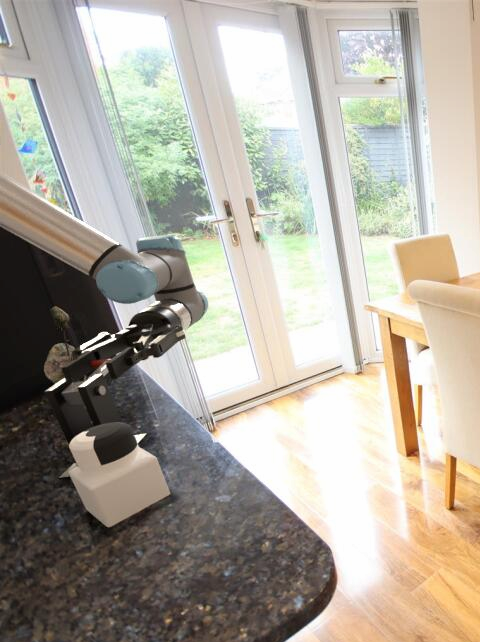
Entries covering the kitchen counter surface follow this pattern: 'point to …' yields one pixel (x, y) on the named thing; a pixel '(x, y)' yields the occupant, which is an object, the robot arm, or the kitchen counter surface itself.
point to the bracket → (76, 416)
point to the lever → (72, 392)
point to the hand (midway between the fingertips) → (89, 373)
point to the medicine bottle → (115, 473)
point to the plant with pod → (59, 350)
